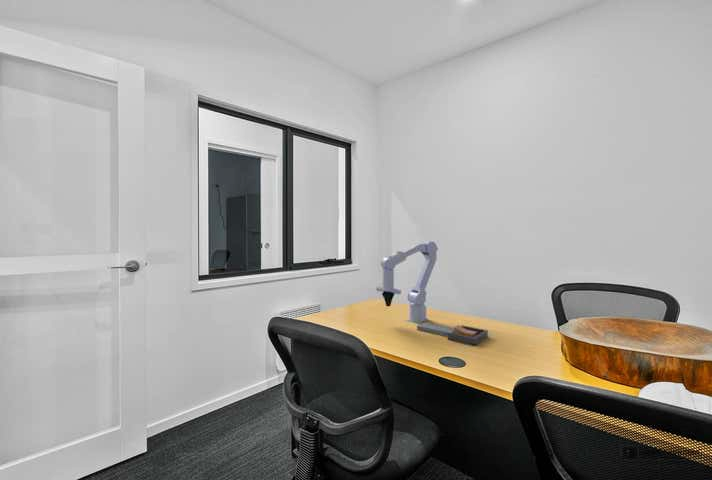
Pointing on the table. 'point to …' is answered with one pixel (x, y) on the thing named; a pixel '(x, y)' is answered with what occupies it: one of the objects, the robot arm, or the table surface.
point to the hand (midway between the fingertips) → (388, 306)
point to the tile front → (470, 333)
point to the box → (469, 340)
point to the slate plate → (435, 329)
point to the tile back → (459, 330)
